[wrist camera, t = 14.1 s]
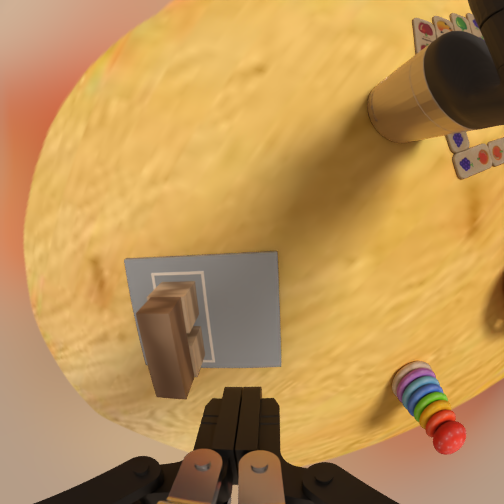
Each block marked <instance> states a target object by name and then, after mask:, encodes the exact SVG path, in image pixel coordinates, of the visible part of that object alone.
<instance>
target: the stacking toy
mask: <svg viewBox="0 0 504 504" xmlns="http://www.w3.org/2000/svg"><path fill="white" fill-rule="evenodd" d="M392 391H393V393H394V394H395V396H397V397H398V399H399V401H400V402H402V403H403V406H404V407H405V408H406V409H407V410H408V412H409V413H410V414H411V415H412V416H414V417H415V419H416V420H417V421H418V422H419V423H420V425H421V427H422V428H424V429H425V430H426V433H427V435H428V436H430V437H434V438H433V445H434V447H435V449H436V450H437V451H438V452H439V453H441V454H452V453H454V452H456V451H457V450H459V449H460V448H461V446H462V445H463V444H464V442H465V439H466V430H465V428H464V426H463V425H462V424H461V423H459V422H456V421H455V420H456V416H455V414H454V412H453V411H451V405H450V403H449V402H448V399H447V397H446V395H445V394H444V393H443V390H442V388H441V387H440V384H439V382H438V380H437V379H436V376H435V374H434V372H433V371H432V369H431V367H430V365H429V364H427V363H426V362H423V361H415V362H412V363H409V364H407V365H406V366H404V367H403V368H401V369H400V370H399V371H398V372H397V374H396V375H395V377H394V379H393V382H392Z"/></svg>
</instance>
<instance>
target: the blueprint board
mask: <svg viewBox="0 0 504 504" xmlns="http://www.w3.org/2000/svg"><path fill="white" fill-rule="evenodd" d="M124 263H125V269H126V275H127V280H128V286H129V291H130V297H131V302H132V307H133V312H134V316H135V321H136V326H137V330H138V334H139V339H140V343H141V347H142V351H143V355H144V359H145V363H146V365H148V364H147V360H146V356H145V352H144V348H143V344H142V339H141V335H140V331H139V326H138V322H137V317H136V313H137V312H138V310H139V309H140V308H141V307H142V306H143V305H144V304H145V303H146V302H147V296H148V295H149V294H150V293H151V292H152V291H153V290H154V289H155V288H156V287H157V286H158V285H159V284H160V283H161V282H179V281H195V285H196V293H197V301H198V308H199V315H198V317H197V319H196V321H195V323H194V325H193V326H201V330H202V337H203V343H204V350H205V357H204V360H203V362H202V365H201V368H258V367H281V336H280V306H279V279H278V256H277V251H268V252H248V253H227V254H207V255H187V256H166V257H146V258H126V259H125V260H124Z"/></svg>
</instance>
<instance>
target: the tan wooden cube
mask: <svg viewBox="0 0 504 504" xmlns="http://www.w3.org/2000/svg"><path fill="white" fill-rule="evenodd" d="M151 297H181V301H182V308H183V315H184V321H185V327H186V333H190V331H191V329H192V327H193V325H194V323H195V321H196V319H197V317H198V315H199V308H198V301H197V293H196V285H195V281H179V282H161V283H160V284H159V285H158V286H157V287H156V288H155V289H154V290H153V291H152V292H151V293H150V294H149V295H148V296H147V301H148V300H149V299H150V298H151Z"/></svg>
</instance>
